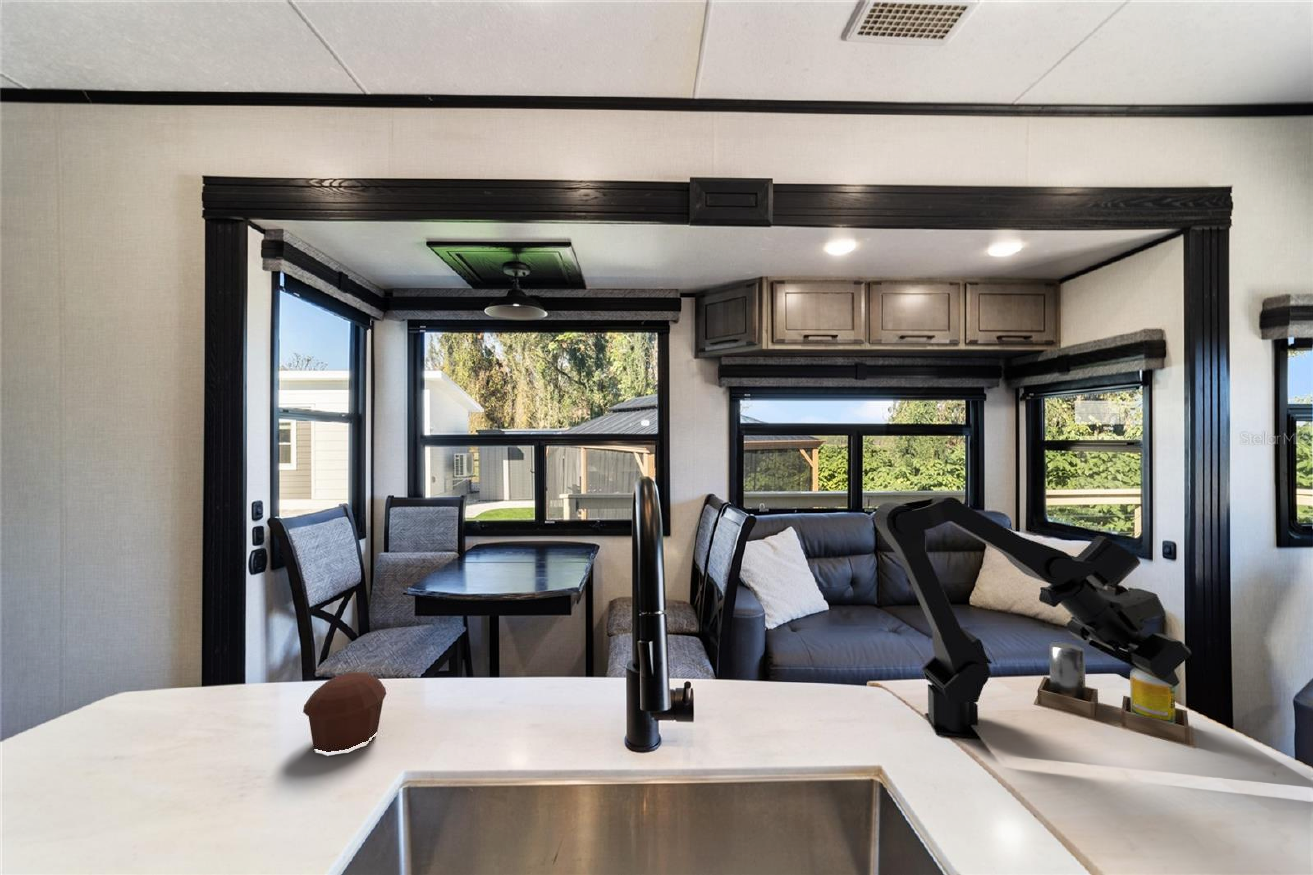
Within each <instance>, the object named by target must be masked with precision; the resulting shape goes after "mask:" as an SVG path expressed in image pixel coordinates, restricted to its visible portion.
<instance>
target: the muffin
mask: <svg viewBox="0 0 1313 875" xmlns="http://www.w3.org/2000/svg"><path fill="white" fill-rule="evenodd" d="M386 690H387V689H386V687H385V686H384V685H383V683H382V681H381V680H379V678H378V677H375V676H373V675H371V674H369V673H365V672H361V671H360V672H357V671H355V672H347V673H343V674H339V675H337V676H335V677H332V678H330V679H329V680H327V681H325V682H324V683H323V684H321V686H320V687H319V686H318V688H317V689H316V690H314V691H313V693H312V694H311V695H310V696H309V698H307V700H306V702H305V704H304V705H303V710H302V713H303V714H305V715H306V716H307V717H308V721H309V726H310V727H309V728H310V734H311V741H312V748H313V750H314V749H318V750H322V751H326V752H331V751H339V750H345V749H349V748H351V747H353V746H356V745H358V744H360V743H362V742H366V741H368V740H369V738H370V737H372V736H373V735H374V734H375V733H376V732H377V733H378V730H379V726H380V725H379V724H380V720H381V715H382V714H381V713H382V709H383V704H384V700H385V698H386V695H387V691H386Z"/></svg>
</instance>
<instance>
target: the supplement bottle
mask: <svg viewBox="0 0 1313 875" xmlns="http://www.w3.org/2000/svg"><path fill="white" fill-rule="evenodd" d="M1129 686H1130V688H1129V689H1130V694H1129V697H1130V700H1131V705H1130V706H1131V713H1135V714H1139V715H1142V716H1146V717H1150V718H1154V719H1158V720H1162V721H1166V722H1170V723H1174V724H1175V708H1176V686H1175V687H1174V686H1172V685H1170V684H1168V683H1166V682H1164V681H1162V680H1160V679H1157V678H1155V677H1153V676H1151V675H1149V674H1147V673H1145V672H1143V671H1141V670H1139V669H1137V668H1135V667H1133V668H1132V669H1131V670H1130V673H1129Z"/></svg>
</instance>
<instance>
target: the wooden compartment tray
mask: <svg viewBox="0 0 1313 875" xmlns="http://www.w3.org/2000/svg"><path fill="white" fill-rule="evenodd" d="M1036 690H1037V695H1036V698H1035V700H1034V702H1033V703H1032V705H1035V706H1038V707H1042V708H1046V709H1048V710H1053V711H1057V712H1060V713H1064V714H1068V715H1070V716H1074V717H1078V718H1081V719H1085V720H1090V721H1093V722H1097V723H1100V724H1103V725H1104V724H1105V725H1108V726H1112V727H1115V728H1119V729H1122V730H1127V731H1129V732H1134V733H1137V734H1141V735H1145V736H1148V737H1151V738H1155V739H1159V740H1163V741H1167V742H1171V743H1175V744H1178V745H1182V746H1185V747H1189V748H1192V749H1196V744H1195V736H1194V730H1193V725H1190V724H1189V717H1188V715H1189V714H1188V710H1187V709H1186V710H1185V709H1183V708H1178V707H1175V724H1174V723H1170V722H1166V721H1162V720H1158V719H1154V718H1150V717H1146V716H1142V715H1139V714H1135V713H1131V706H1130V705H1131V700H1130V696H1127V695H1123V696H1122V704H1121V707H1119V706H1114V705H1111V704H1107V703H1102V702H1099V691H1098V689H1097V688H1094V687H1090V686H1086V701H1083V700H1080V699H1076V698H1072V697H1068V696H1064V695H1060V694H1056V693H1052V692H1050V677H1047V676H1043V678H1042V679H1041V682H1040V684H1039V686H1038V688H1037V689H1036Z"/></svg>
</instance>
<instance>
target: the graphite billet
mask: <svg viewBox="0 0 1313 875" xmlns="http://www.w3.org/2000/svg"><path fill="white" fill-rule="evenodd" d="M1048 646H1049V648H1048V649H1049V650H1048V651H1049V653H1048V654H1049V678H1050V692H1052V693H1056V694H1060V695H1064V696H1068V697H1072V698H1076V699H1080V700H1083V701H1086V687H1087V685H1086V658H1085V657H1086V656H1085V654H1086V652H1085V649H1084V648H1083V647H1081V646H1078V645H1076V644H1072V643H1067V642H1060V641H1059V642H1058V641H1057V642H1055V641H1054V642H1050V643H1049V644H1048Z"/></svg>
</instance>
